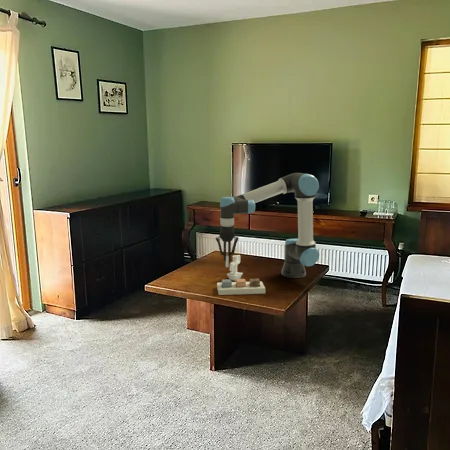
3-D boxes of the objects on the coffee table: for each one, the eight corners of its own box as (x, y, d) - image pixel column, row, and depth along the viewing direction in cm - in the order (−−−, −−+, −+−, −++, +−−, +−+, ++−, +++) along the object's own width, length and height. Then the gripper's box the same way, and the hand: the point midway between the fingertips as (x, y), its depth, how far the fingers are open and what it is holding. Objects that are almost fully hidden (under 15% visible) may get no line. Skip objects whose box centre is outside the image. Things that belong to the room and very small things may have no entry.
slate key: (230, 286, 253) (230, 279, 252) (231, 289, 248) (231, 282, 248) (221, 286, 253) (221, 279, 252) (222, 289, 248) (222, 282, 247)
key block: (261, 286, 259) (261, 281, 258) (265, 293, 247) (265, 288, 246) (217, 287, 256) (217, 282, 256) (218, 294, 245) (218, 289, 244)
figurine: (225, 280, 269) (225, 256, 266) (234, 276, 277) (234, 253, 274) (235, 282, 265) (235, 258, 262) (244, 278, 273) (244, 254, 270)
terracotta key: (244, 285, 254) (244, 278, 253) (245, 288, 249) (245, 281, 248) (235, 285, 253) (235, 279, 253) (236, 288, 249) (236, 281, 248)
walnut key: (258, 285, 255) (258, 278, 254) (259, 288, 250) (259, 281, 249) (249, 285, 254) (249, 278, 253) (251, 288, 249) (251, 281, 249)
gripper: (238, 223, 248) (237, 264, 252) (214, 224, 246) (214, 265, 251) (239, 226, 240) (239, 268, 245) (215, 226, 239) (215, 268, 244)
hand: (227, 266), depth 248 cm, fingers closed
